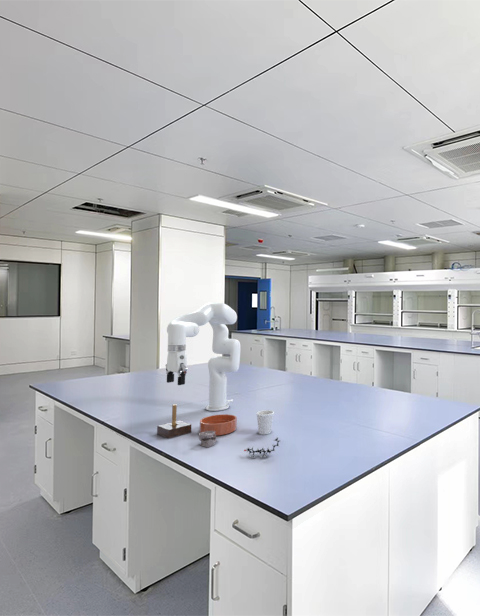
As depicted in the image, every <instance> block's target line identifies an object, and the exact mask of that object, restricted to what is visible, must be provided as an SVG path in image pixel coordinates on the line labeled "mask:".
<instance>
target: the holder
mask: <svg viewBox="0 0 480 616" xmlns="http://www.w3.org/2000/svg"><path fill="white" fill-rule="evenodd" d="M156 427H157V428H156V435H159V436H161V437H163V438H166V439H173V438H176V437H179V436H183V435H186V434H191V433H192V424H191V423H188V422H185V421H182V420H176V426H172V421H171V422H168V423H163V424H158V425H157V426H156Z"/></svg>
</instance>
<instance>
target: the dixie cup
mask: <svg viewBox="0 0 480 616" xmlns="http://www.w3.org/2000/svg"><path fill="white" fill-rule="evenodd" d="M255 414H256V419H257V428H258V434H259V435H268V434H271V433H272V426H273V420H274V414H275V411H274V410H270V409H269V410H260V411H257V412H256V413H255Z"/></svg>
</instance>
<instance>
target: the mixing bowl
mask: <svg viewBox="0 0 480 616" xmlns="http://www.w3.org/2000/svg"><path fill="white" fill-rule="evenodd" d="M237 421H238V417H237V416H236V415H234V414H227V413H226V414H224V413H223V414H222V413H221V414H214V415H209V416H205V417H203V418H201V419H200V420H199V429H198V430H199V433H201V432H205V431H215V434H216V437H217V436H224V435H225V436H226V435H228V434H231V433H233V432H235V431H236V430H237V428H238V427H237V424H238V423H237ZM213 436H214V435H213Z"/></svg>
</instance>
